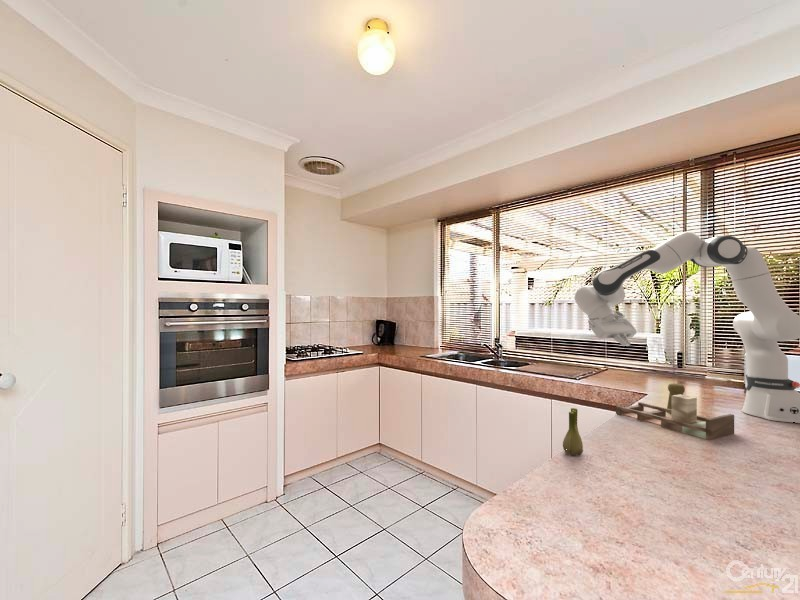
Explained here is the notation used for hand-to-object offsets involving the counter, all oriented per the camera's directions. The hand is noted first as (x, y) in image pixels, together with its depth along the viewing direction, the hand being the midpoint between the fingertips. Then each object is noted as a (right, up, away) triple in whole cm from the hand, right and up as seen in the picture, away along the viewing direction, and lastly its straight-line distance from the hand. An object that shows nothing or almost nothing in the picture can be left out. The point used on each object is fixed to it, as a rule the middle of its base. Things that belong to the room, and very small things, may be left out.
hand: (627, 345), depth 145 cm
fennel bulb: (-40, -24, -43) cm, 64 cm away
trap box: (+6, -25, -14) cm, 30 cm away
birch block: (+8, -23, -18) cm, 31 cm away
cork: (+18, -26, -2) cm, 31 cm away
